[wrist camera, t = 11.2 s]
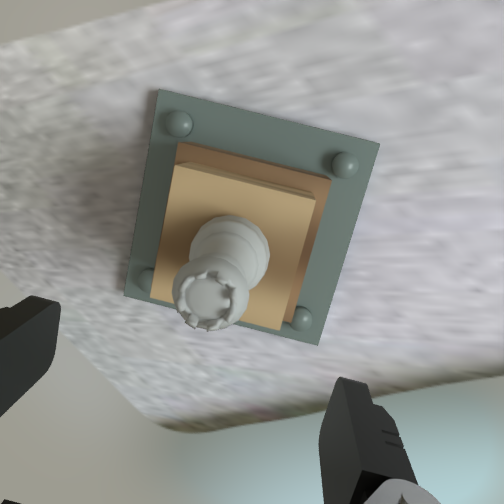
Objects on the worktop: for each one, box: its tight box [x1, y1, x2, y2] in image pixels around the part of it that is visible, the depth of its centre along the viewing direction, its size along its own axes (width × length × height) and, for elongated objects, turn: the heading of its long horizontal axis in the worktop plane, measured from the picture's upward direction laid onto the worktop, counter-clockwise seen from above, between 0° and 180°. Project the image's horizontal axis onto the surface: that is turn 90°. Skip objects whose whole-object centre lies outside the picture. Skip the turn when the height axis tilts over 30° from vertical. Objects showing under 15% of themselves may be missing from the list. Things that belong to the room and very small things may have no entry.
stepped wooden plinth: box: [150, 142, 332, 331], centre depth 29 cm, size 10×10×8 cm
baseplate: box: [123, 89, 380, 346], centre depth 33 cm, size 16×16×2 cm
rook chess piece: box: [172, 215, 270, 332], centre depth 21 cm, size 4×4×8 cm
